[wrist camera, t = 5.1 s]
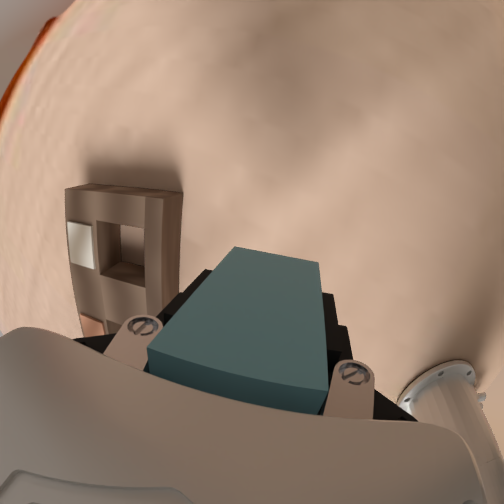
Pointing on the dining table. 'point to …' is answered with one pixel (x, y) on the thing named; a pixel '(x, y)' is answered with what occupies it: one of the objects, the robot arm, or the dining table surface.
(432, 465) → the robot arm
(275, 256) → the plug
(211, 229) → the dining table surface
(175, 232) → the socket block
